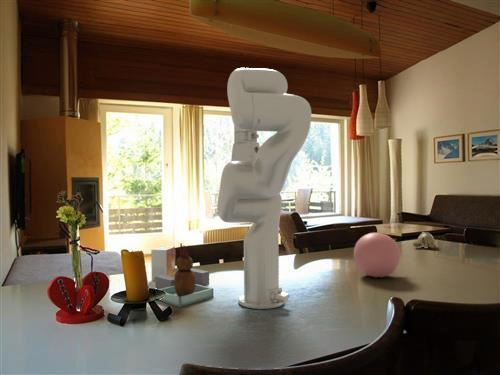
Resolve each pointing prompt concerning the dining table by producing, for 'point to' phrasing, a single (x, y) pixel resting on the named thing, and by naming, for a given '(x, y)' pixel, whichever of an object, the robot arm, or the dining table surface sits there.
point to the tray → (187, 296)
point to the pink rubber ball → (376, 255)
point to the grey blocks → (168, 281)
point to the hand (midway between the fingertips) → (245, 190)
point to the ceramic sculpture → (425, 240)
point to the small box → (163, 261)
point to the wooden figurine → (184, 274)
